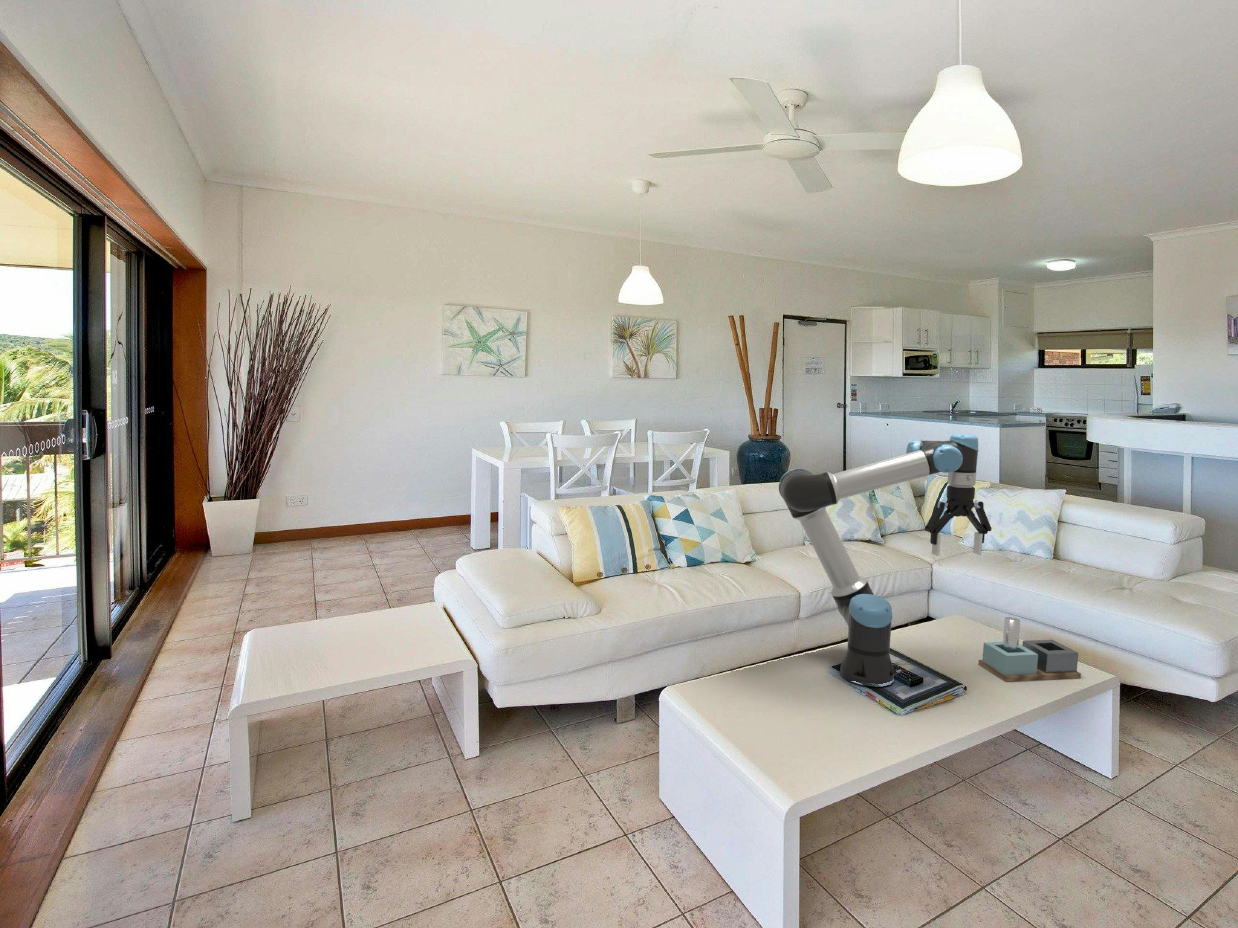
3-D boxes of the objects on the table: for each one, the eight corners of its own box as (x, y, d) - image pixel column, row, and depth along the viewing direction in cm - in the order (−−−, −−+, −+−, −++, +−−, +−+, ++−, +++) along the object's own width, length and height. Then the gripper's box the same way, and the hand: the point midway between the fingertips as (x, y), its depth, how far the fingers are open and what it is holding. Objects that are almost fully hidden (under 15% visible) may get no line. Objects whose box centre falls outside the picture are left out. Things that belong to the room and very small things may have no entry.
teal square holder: (1005, 675, 189) (1006, 655, 189) (982, 661, 199) (983, 642, 199) (1036, 673, 191) (1038, 654, 190) (1012, 659, 200) (1013, 641, 200)
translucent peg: (1007, 667, 193) (1011, 622, 191) (998, 661, 197) (1001, 617, 195) (1019, 666, 193) (1023, 621, 191) (1010, 661, 197) (1013, 616, 195)
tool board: (1005, 681, 189) (1005, 676, 188) (978, 664, 200) (978, 659, 200) (1080, 678, 191) (1080, 673, 191) (1049, 661, 203) (1049, 656, 203)
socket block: (1045, 673, 191) (1047, 653, 190) (1021, 659, 201) (1022, 640, 200) (1076, 671, 192) (1078, 652, 191) (1050, 657, 202) (1052, 639, 201)
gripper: (929, 488, 190) (925, 558, 192) (1008, 487, 192) (1002, 556, 195) (915, 484, 197) (911, 552, 200) (991, 483, 200) (986, 550, 202)
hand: (956, 554), depth 197 cm, fingers open, 13 cm apart
